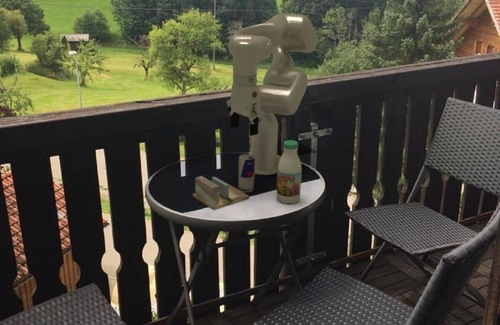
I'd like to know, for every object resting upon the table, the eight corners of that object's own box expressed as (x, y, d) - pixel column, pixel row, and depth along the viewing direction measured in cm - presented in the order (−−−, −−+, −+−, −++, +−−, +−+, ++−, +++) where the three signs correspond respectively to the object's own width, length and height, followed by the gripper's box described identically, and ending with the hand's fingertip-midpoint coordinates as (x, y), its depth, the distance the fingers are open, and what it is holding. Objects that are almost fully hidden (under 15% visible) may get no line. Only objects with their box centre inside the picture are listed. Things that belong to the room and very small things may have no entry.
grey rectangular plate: (214, 189, 182) (214, 176, 180) (233, 200, 174) (233, 187, 173) (211, 190, 181) (211, 177, 179) (230, 201, 174) (230, 188, 172)
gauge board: (227, 186, 188) (227, 167, 185) (248, 198, 179) (249, 179, 176) (193, 196, 180) (192, 176, 177) (213, 209, 171) (213, 189, 168)
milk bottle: (277, 193, 183) (280, 137, 176) (300, 195, 182) (304, 139, 174) (274, 203, 176) (277, 145, 169) (298, 205, 175) (302, 147, 167)
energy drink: (252, 193, 183) (253, 160, 178) (237, 192, 184) (237, 158, 179) (255, 187, 187) (256, 154, 183) (240, 185, 188) (240, 153, 184)
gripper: (271, 83, 168) (270, 135, 175) (237, 72, 181) (236, 122, 187) (253, 86, 164) (252, 140, 170) (218, 76, 176) (219, 126, 183)
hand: (244, 130), depth 179 cm, fingers open, 9 cm apart
